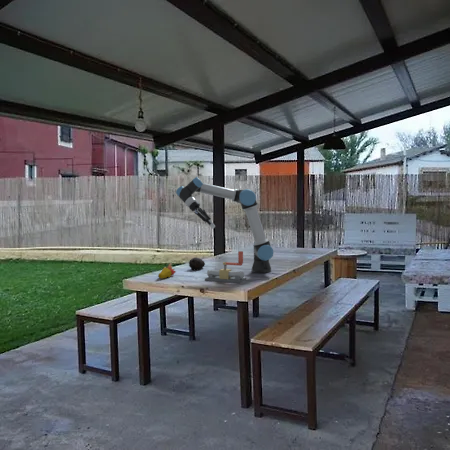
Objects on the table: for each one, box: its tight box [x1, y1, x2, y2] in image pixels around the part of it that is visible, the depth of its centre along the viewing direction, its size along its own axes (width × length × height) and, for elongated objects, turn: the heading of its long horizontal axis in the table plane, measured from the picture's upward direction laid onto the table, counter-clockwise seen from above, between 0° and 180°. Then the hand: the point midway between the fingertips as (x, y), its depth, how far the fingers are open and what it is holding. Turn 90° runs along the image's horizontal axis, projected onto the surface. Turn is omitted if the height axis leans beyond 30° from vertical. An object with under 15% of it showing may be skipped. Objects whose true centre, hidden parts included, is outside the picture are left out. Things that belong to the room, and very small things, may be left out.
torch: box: [157, 262, 177, 279], centre depth 353 cm, size 8×8×25 cm
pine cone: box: [188, 257, 206, 271], centre depth 391 cm, size 10×18×10 cm, turn 165°
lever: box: [222, 250, 244, 266], centre depth 333 cm, size 15×3×9 cm, turn 62°
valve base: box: [204, 265, 247, 284], centre depth 336 cm, size 12×26×11 cm, turn 66°
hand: (214, 227), depth 344 cm, fingers closed
